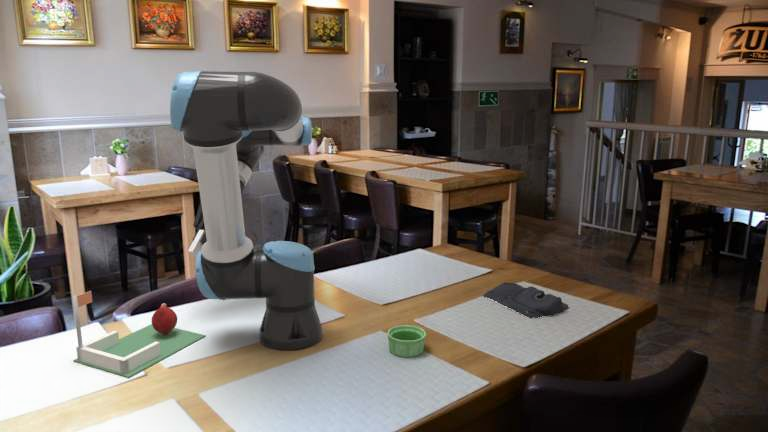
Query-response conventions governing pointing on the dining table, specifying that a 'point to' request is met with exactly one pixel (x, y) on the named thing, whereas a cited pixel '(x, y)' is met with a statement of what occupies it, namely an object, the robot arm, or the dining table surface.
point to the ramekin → (406, 340)
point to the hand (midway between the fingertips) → (193, 253)
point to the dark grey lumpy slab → (526, 300)
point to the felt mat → (145, 337)
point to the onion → (164, 319)
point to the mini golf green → (109, 346)
